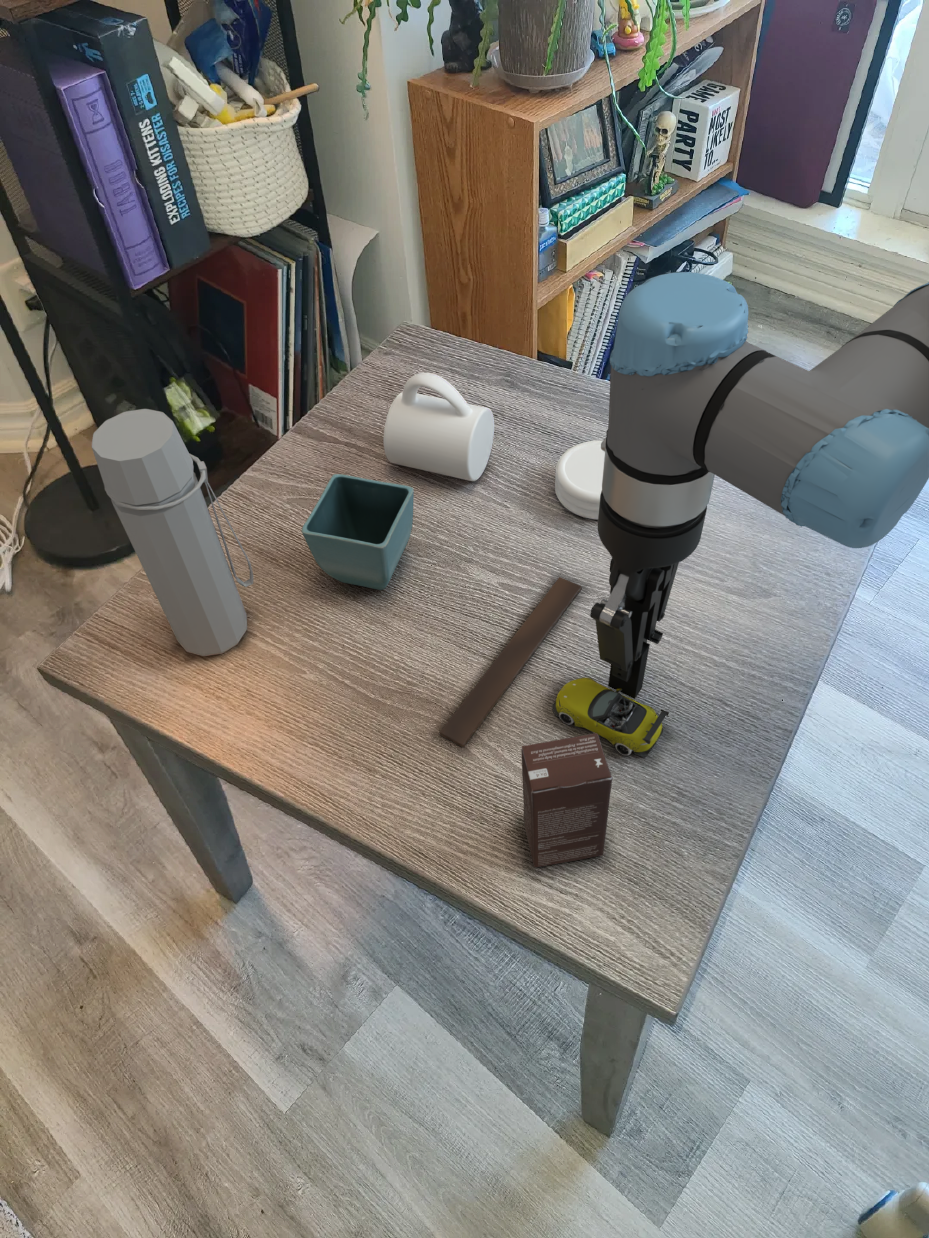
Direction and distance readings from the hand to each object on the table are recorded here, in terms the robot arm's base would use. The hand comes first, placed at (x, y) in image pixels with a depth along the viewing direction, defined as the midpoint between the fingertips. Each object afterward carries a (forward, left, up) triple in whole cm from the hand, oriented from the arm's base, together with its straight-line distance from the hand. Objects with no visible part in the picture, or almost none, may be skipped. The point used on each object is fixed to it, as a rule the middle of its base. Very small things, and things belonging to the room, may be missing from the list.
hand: (625, 687), depth 81 cm
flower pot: (+30, -1, -2) cm, 30 cm away
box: (-2, +15, -2) cm, 16 cm away
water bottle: (+38, +13, -2) cm, 40 cm away
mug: (+33, -19, -2) cm, 38 cm away
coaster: (+15, -24, -2) cm, 28 cm away
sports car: (0, +3, -2) cm, 4 cm away
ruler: (+11, +1, -2) cm, 11 cm away
